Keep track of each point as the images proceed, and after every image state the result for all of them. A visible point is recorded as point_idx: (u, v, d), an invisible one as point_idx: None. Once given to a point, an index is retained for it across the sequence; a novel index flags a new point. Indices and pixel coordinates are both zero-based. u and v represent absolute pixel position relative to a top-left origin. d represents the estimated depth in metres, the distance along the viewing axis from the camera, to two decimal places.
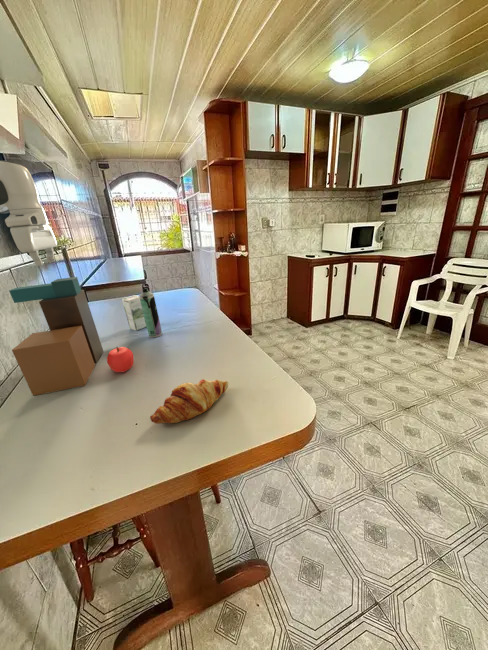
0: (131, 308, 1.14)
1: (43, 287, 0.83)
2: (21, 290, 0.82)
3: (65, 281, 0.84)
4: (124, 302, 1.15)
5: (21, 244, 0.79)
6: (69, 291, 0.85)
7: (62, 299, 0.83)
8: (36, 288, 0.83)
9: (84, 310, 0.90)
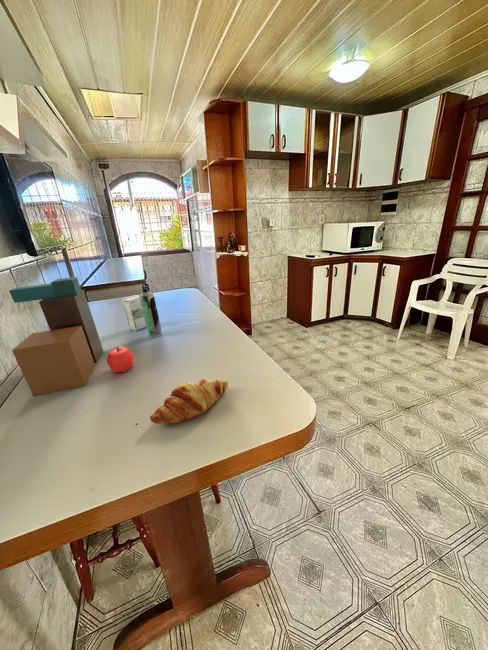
0: (131, 308, 1.14)
1: (43, 287, 0.83)
2: (21, 290, 0.82)
3: (65, 281, 0.84)
4: (124, 302, 1.15)
5: None
6: (69, 291, 0.85)
7: (62, 299, 0.83)
8: (36, 288, 0.83)
9: (84, 310, 0.90)
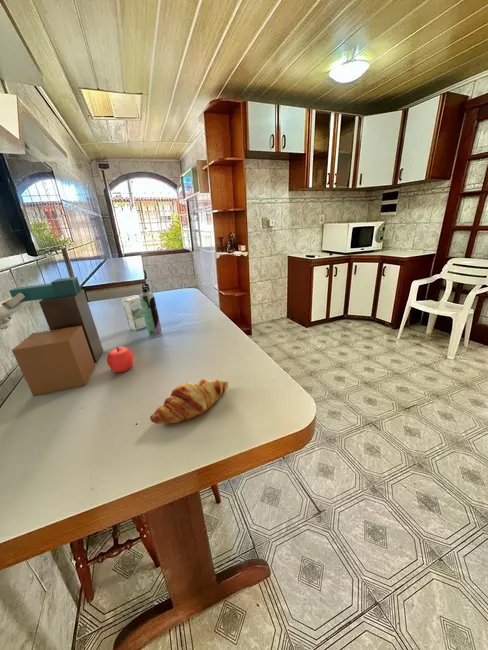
0: (131, 308, 1.14)
1: (43, 287, 0.83)
2: (21, 290, 0.82)
3: (65, 281, 0.84)
4: (124, 302, 1.15)
5: None
6: (69, 291, 0.85)
7: (62, 299, 0.83)
8: (36, 288, 0.83)
9: (84, 310, 0.90)
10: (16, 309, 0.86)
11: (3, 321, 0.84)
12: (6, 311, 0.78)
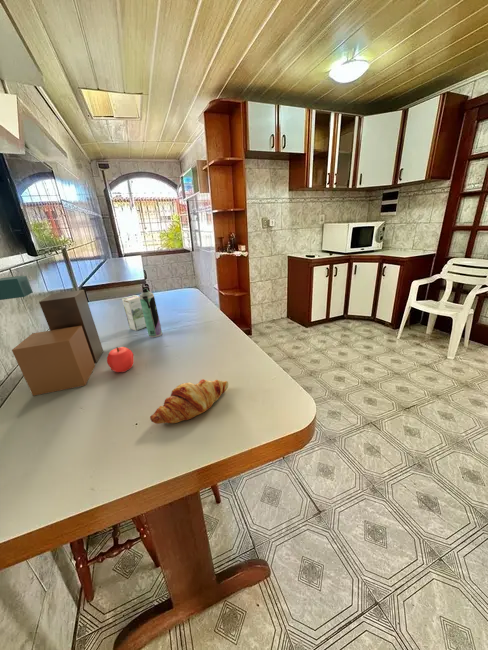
0: (131, 308, 1.14)
1: None
2: None
3: (8, 280, 0.69)
4: (124, 302, 1.15)
5: None
6: (14, 292, 0.71)
7: (62, 299, 0.83)
8: None
9: (84, 310, 0.90)
10: None
11: None
12: None
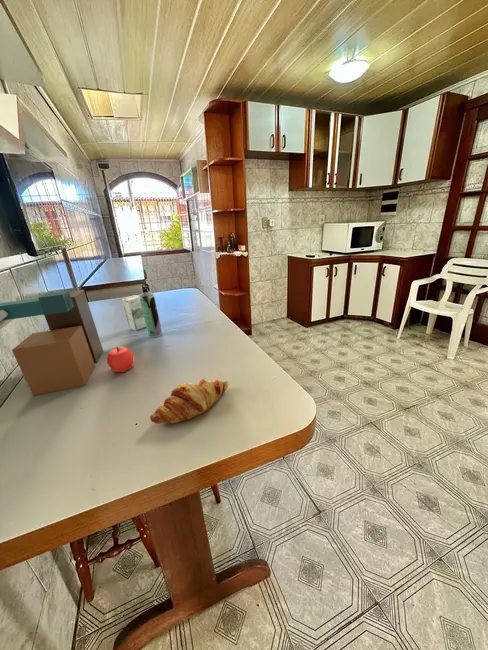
0: (131, 308, 1.14)
1: (29, 303, 0.72)
2: (3, 307, 0.71)
3: (54, 296, 0.73)
4: (124, 302, 1.15)
5: None
6: (59, 307, 0.74)
7: None
8: (21, 304, 0.72)
9: (84, 310, 0.90)
10: None
11: None
12: None
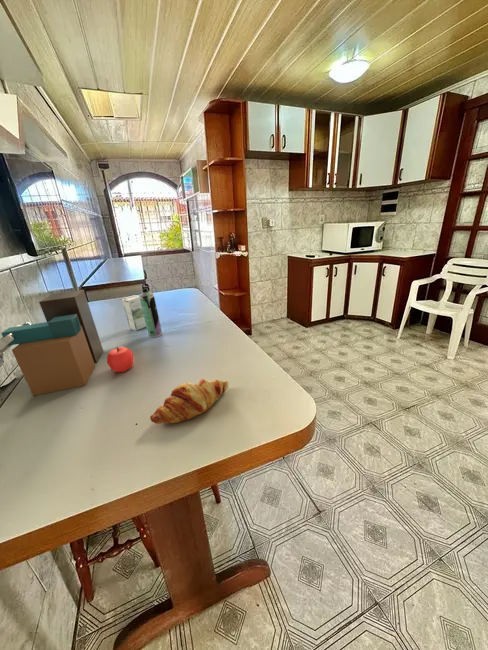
0: (131, 308, 1.14)
1: (39, 328, 0.75)
2: (15, 332, 0.74)
3: (63, 321, 0.75)
4: (124, 302, 1.15)
5: None
6: (68, 331, 0.77)
7: (62, 299, 0.83)
8: (31, 329, 0.75)
9: (84, 310, 0.90)
10: None
11: None
12: None
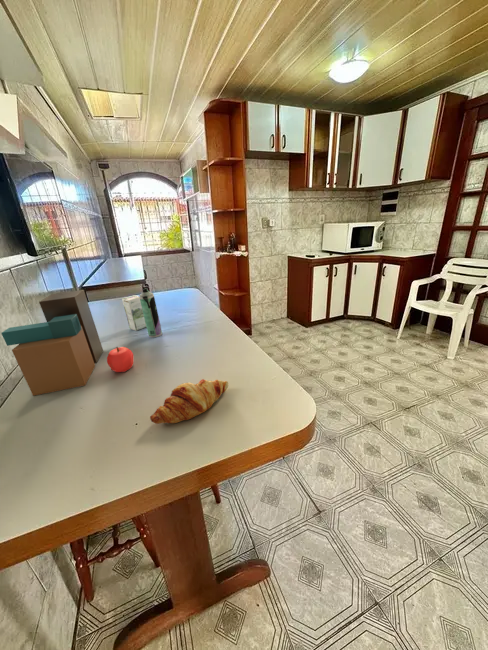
0: (131, 308, 1.14)
1: (39, 328, 0.75)
2: (15, 332, 0.74)
3: (63, 321, 0.75)
4: (124, 302, 1.15)
5: None
6: (68, 331, 0.77)
7: (62, 299, 0.83)
8: (31, 329, 0.75)
9: (84, 310, 0.90)
10: None
11: None
12: None
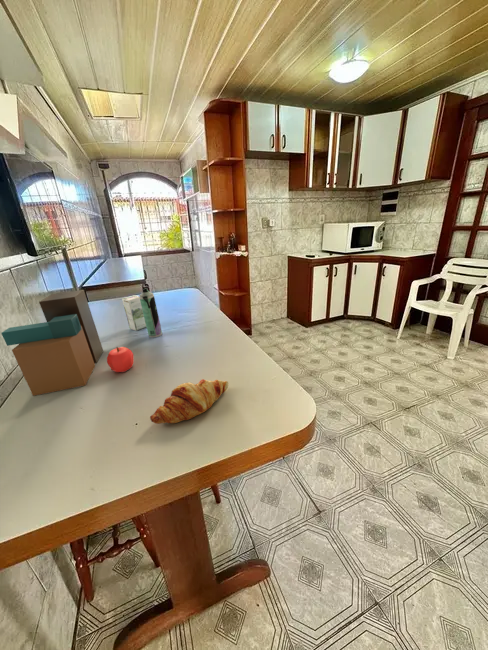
0: (131, 308, 1.14)
1: (39, 328, 0.75)
2: (15, 332, 0.74)
3: (63, 321, 0.75)
4: (124, 302, 1.15)
5: None
6: (68, 331, 0.77)
7: (62, 299, 0.83)
8: (31, 329, 0.75)
9: (84, 310, 0.90)
10: None
11: None
12: None
